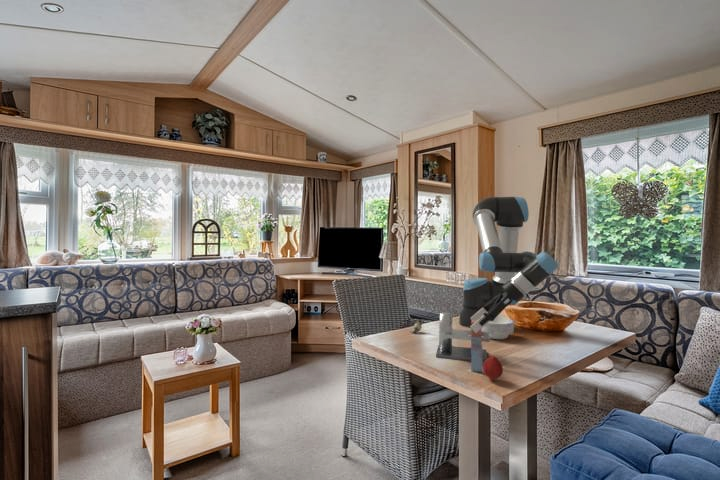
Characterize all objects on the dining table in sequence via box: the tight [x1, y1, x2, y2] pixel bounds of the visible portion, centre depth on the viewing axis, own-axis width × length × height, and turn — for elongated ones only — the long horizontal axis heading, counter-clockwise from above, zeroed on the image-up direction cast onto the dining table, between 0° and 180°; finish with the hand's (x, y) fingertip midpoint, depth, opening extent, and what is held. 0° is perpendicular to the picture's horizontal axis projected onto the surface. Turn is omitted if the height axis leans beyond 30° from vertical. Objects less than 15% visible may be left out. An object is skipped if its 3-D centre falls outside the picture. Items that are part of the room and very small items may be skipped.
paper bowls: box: [481, 315, 515, 340], centre depth 158 cm, size 15×15×8 cm
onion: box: [482, 354, 504, 381], centre depth 110 cm, size 6×6×8 cm
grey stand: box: [435, 311, 491, 373], centre depth 128 cm, size 18×22×15 cm
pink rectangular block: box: [470, 320, 482, 337], centre depth 131 cm, size 4×4×12 cm
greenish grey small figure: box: [409, 319, 423, 335], centre depth 163 cm, size 5×5×6 cm
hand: (472, 325), depth 132 cm, fingers open, 13 cm apart
